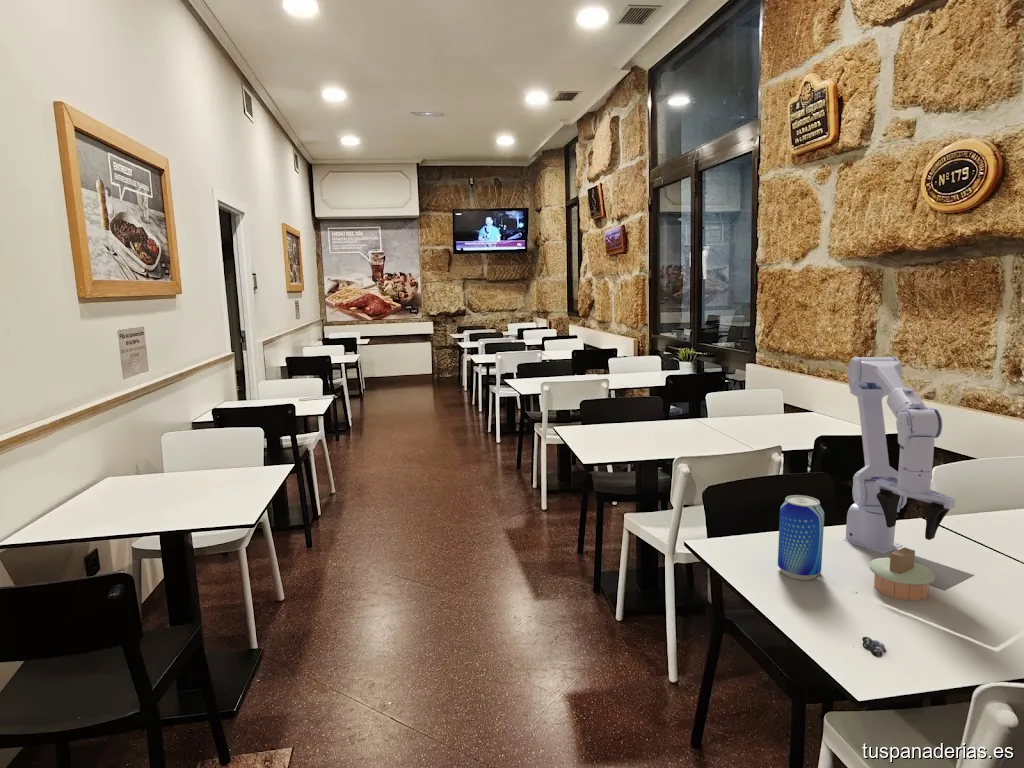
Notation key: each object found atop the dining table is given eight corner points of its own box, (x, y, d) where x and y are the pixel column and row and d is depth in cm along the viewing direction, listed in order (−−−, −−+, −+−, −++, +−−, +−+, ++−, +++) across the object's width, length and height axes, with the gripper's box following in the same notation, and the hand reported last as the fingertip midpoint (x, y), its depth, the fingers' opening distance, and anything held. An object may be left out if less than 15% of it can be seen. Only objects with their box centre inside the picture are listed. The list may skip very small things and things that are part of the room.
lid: (857, 568, 128) (859, 548, 127) (888, 556, 134) (889, 536, 133) (916, 590, 119) (917, 568, 118) (946, 575, 124) (947, 555, 124)
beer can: (826, 571, 136) (830, 499, 134) (812, 585, 130) (816, 509, 128) (786, 560, 142) (789, 491, 139) (771, 573, 136) (774, 501, 133)
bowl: (864, 588, 128) (865, 569, 128) (889, 577, 133) (890, 558, 132) (911, 606, 121) (913, 586, 120) (936, 594, 125) (937, 574, 125)
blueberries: (861, 665, 104) (863, 655, 104) (837, 635, 112) (838, 625, 112) (903, 665, 104) (904, 655, 104) (876, 634, 112) (877, 625, 112)
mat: (882, 570, 136) (882, 568, 136) (912, 557, 142) (913, 554, 142) (944, 592, 126) (944, 590, 126) (974, 577, 132) (974, 575, 132)
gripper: (868, 462, 133) (863, 525, 135) (943, 480, 121) (937, 548, 123) (887, 457, 137) (882, 518, 139) (962, 474, 125) (956, 540, 127)
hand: (909, 532), depth 131 cm, fingers open, 7 cm apart
